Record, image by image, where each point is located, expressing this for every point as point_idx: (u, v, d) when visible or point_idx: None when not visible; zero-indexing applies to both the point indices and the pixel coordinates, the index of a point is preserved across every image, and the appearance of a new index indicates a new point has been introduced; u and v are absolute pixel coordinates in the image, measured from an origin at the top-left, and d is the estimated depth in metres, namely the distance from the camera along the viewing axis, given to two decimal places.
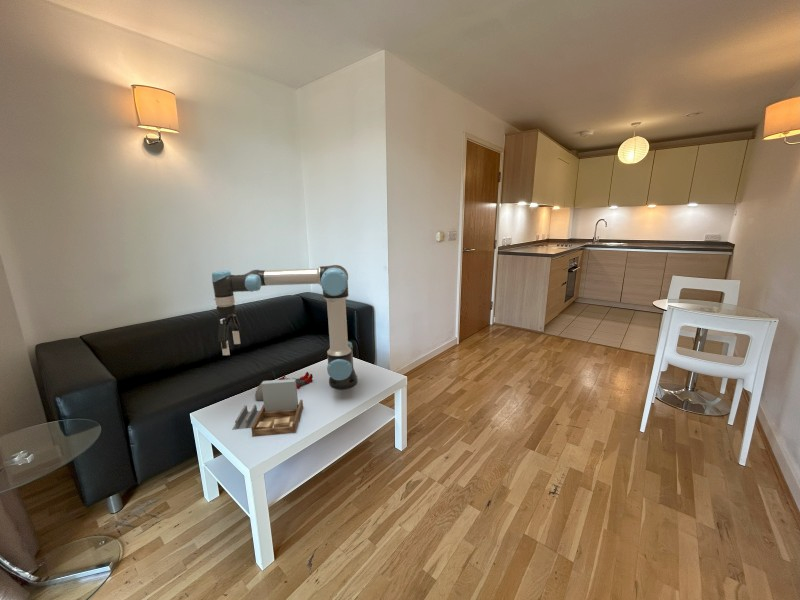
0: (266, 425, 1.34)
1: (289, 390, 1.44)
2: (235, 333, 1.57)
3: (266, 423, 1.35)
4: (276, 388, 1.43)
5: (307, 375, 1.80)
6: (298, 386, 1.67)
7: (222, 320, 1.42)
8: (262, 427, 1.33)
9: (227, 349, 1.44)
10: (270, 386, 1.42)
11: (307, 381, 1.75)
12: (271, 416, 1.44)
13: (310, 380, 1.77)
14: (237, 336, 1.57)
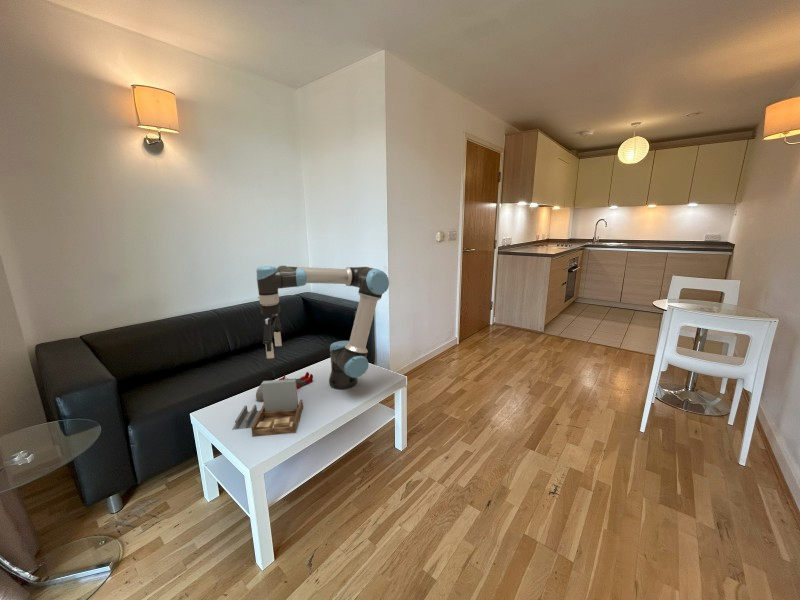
0: (266, 425, 1.34)
1: (289, 390, 1.44)
2: (277, 334, 1.45)
3: (266, 423, 1.35)
4: (276, 388, 1.43)
5: (307, 375, 1.80)
6: (299, 386, 1.66)
7: (267, 320, 1.30)
8: (262, 427, 1.33)
9: (272, 352, 1.32)
10: (270, 386, 1.42)
11: (307, 381, 1.75)
12: (271, 416, 1.44)
13: (310, 380, 1.77)
14: (279, 337, 1.45)
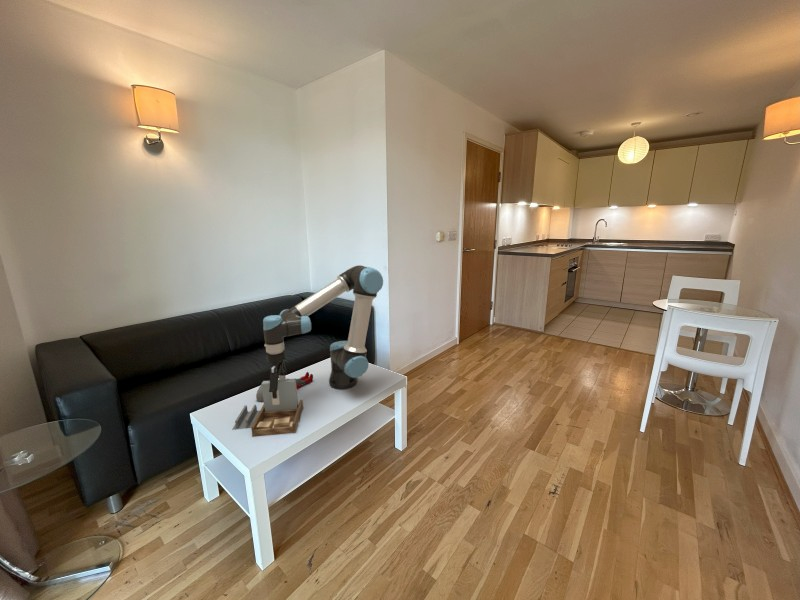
0: (266, 425, 1.34)
1: (289, 390, 1.44)
2: (282, 378, 1.50)
3: (266, 423, 1.35)
4: None
5: (307, 375, 1.80)
6: (299, 386, 1.66)
7: (273, 369, 1.35)
8: (262, 427, 1.33)
9: (277, 398, 1.37)
10: None
11: (308, 381, 1.75)
12: (271, 416, 1.44)
13: (310, 380, 1.77)
14: None
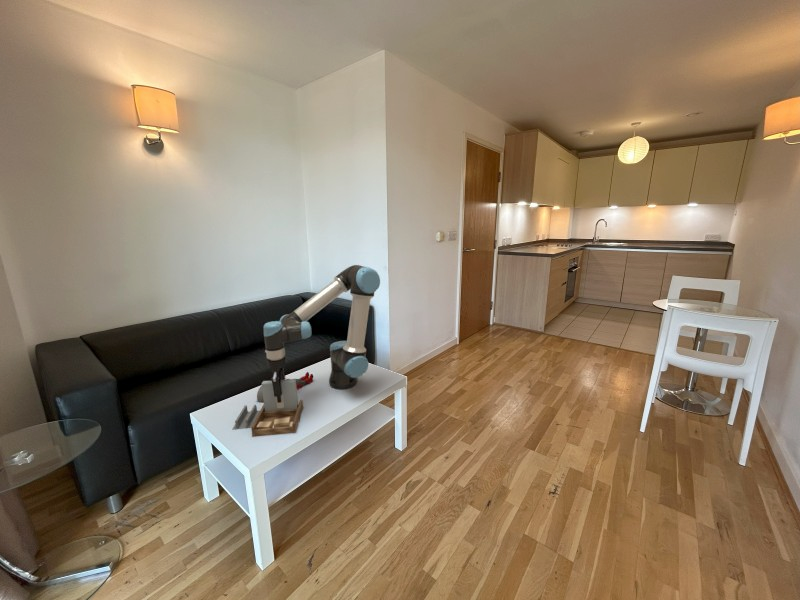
0: (266, 425, 1.34)
1: (289, 390, 1.44)
2: None
3: (266, 423, 1.35)
4: None
5: (307, 375, 1.80)
6: None
7: (275, 379, 1.36)
8: (262, 427, 1.33)
9: (282, 402, 1.44)
10: (270, 386, 1.42)
11: (308, 381, 1.75)
12: (271, 416, 1.44)
13: (311, 380, 1.77)
14: None
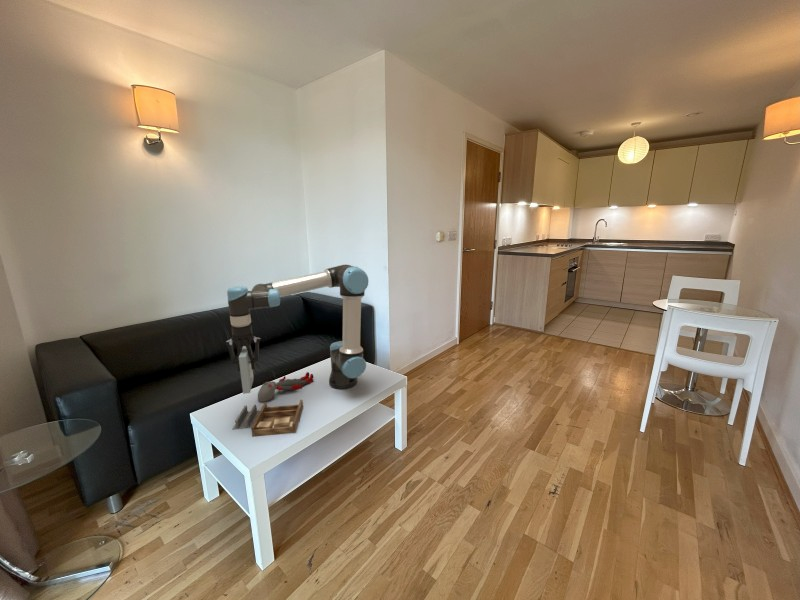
0: (266, 425, 1.34)
1: None
2: None
3: (266, 423, 1.35)
4: None
5: (307, 375, 1.80)
6: (300, 386, 1.66)
7: None
8: (262, 427, 1.33)
9: None
10: None
11: (308, 381, 1.75)
12: (271, 416, 1.44)
13: (311, 380, 1.77)
14: None
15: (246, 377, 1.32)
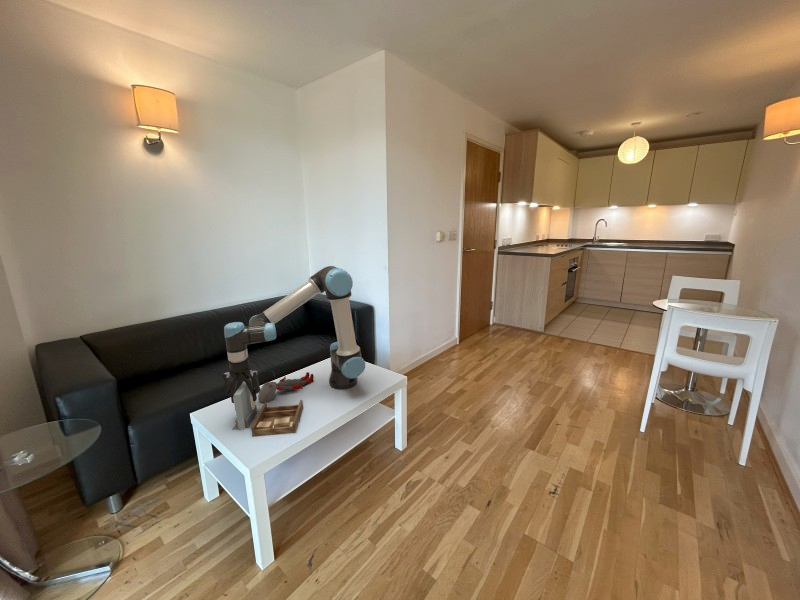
0: (266, 425, 1.34)
1: None
2: None
3: (266, 423, 1.35)
4: None
5: (308, 375, 1.80)
6: None
7: None
8: (262, 427, 1.33)
9: None
10: None
11: (308, 381, 1.75)
12: (271, 416, 1.44)
13: (311, 380, 1.77)
14: None
15: (241, 414, 1.35)
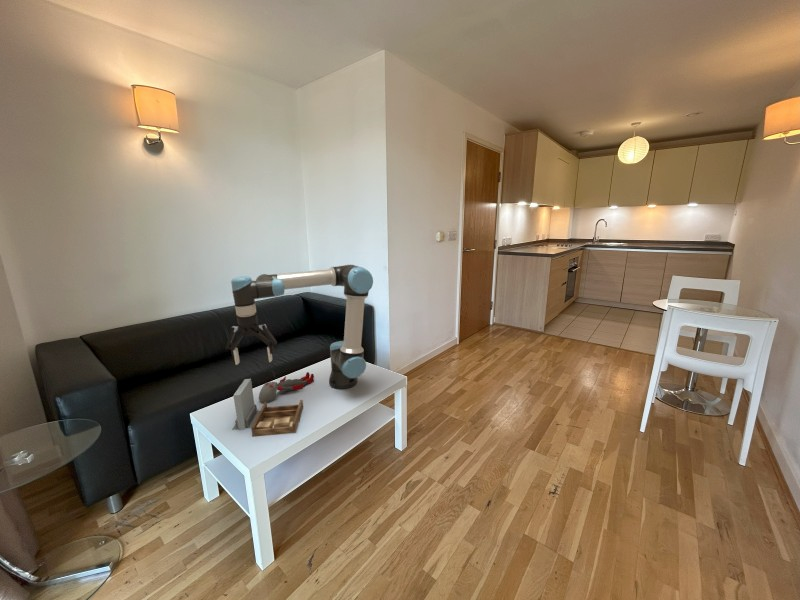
0: (266, 425, 1.34)
1: None
2: None
3: (266, 423, 1.35)
4: None
5: (308, 375, 1.79)
6: (301, 386, 1.66)
7: None
8: (262, 427, 1.33)
9: None
10: None
11: (309, 381, 1.75)
12: (271, 416, 1.44)
13: (311, 380, 1.77)
14: None
15: (241, 414, 1.35)
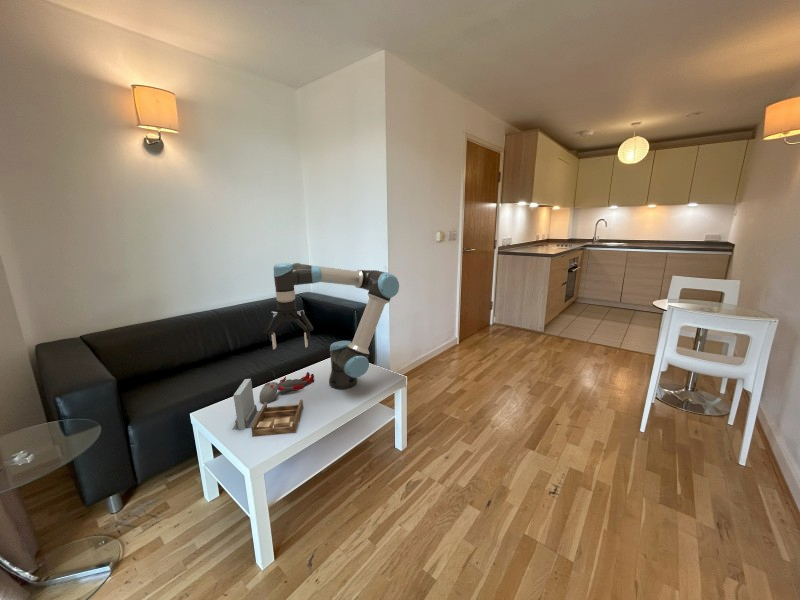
0: (266, 425, 1.34)
1: None
2: None
3: (266, 423, 1.35)
4: None
5: (308, 375, 1.79)
6: None
7: (270, 313, 1.38)
8: (262, 427, 1.33)
9: None
10: None
11: (309, 381, 1.75)
12: (271, 416, 1.44)
13: (312, 380, 1.77)
14: None
15: (241, 414, 1.35)
